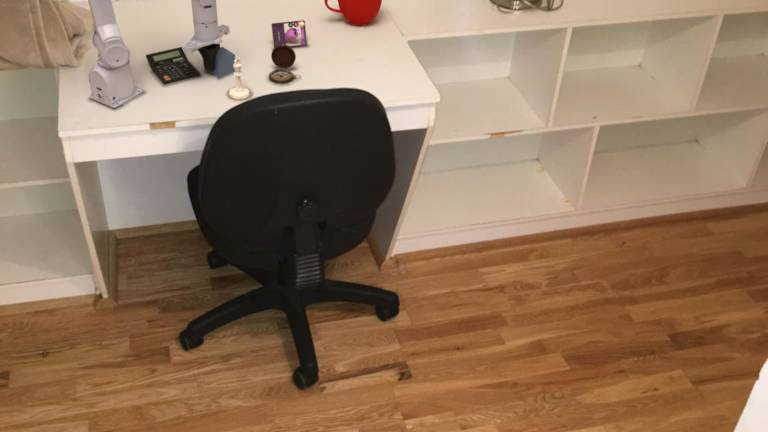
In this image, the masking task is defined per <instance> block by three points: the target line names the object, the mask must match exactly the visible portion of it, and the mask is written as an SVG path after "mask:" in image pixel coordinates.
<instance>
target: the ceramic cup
mask: <svg viewBox="0 0 768 432" xmlns="http://www.w3.org/2000/svg"><path fill="white" fill-rule="evenodd" d="M328 2H329V0H324V5H325V7H326V8H327V9H328V10H329V11H330V12H334V13H337V14H342V16H343V18H344V19H345V20H346V21H347V22H348V23H349V24H351V25H353V26H356V27H357V26H358V27H360V26H367V25H369V24H371V22H372V21H373V20H374V19H375V18H376V17H377V15H378V14H379V12H380V11H381V10H380V9H381V7H382V2H383V0H337V3H338V8H339V9H337V8H333V7H331V6H330V5H329V4H328Z"/></svg>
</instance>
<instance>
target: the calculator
mask: <svg viewBox="0 0 768 432" xmlns="http://www.w3.org/2000/svg"><path fill="white" fill-rule="evenodd" d="M145 58H146V60H147V62H148V65H149V66H150V68H151V71H152V72H153V73H154V75H155V76H156V77H157V78H158V80H159V81H160V82H161V83H162V84H163V85H164V86H166V85H168V84H169V85H170V84H173V83H176V82H181V81H185V80H189V79H193V78H198V77H201V73H200V72H199V71H198V70H197V69H196V67H195V66H193V64H192V63H191V62H190V61H189V59H188V57H187V54H185V53H184V48H183V46H179V47H176V48H175V47H174V48H171V49H166V50H161V51H157V52H152V53H149V54H146V55H145Z"/></svg>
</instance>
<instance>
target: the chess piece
mask: <svg viewBox="0 0 768 432" xmlns="http://www.w3.org/2000/svg"><path fill="white" fill-rule="evenodd" d="M240 61H241V58H240V57H239V56H235V60H234V62H235V63H234V64H233V66H234V68H235V72H233V76H235V86H234V87H232V88H230V89H229V91H228V92H229V96H230V97H231V98H232V99H233V98H234V99H239V100H240V99H245V98H247V97H249V96H250V90H249V89H248V88H247V86H246V87H245V86H243V83H242V78H241V77H242V76H243V72H242V71H241V69H242V68H243V67H242V66H243V64H242V62H240Z"/></svg>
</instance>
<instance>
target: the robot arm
mask: <svg viewBox="0 0 768 432" xmlns="http://www.w3.org/2000/svg"><path fill="white" fill-rule="evenodd" d="M87 2H88V6H89V10H90V15H91V18H92V22H93V23H92V28H93V32H92V38H91V39H92V44H93V46H94V47H95V48H96V50H97V52H98V54H97V56H96V64H95V66H94V67H93V68H92V69H91V70H90V71H89V72H88V81H89V87H90V92H91V95H90V96H89V97H90V99H91V100H93V101H96V102H98V103H100V104H103V105H105V106H108V107H109V108H112V109H117V108H118V107H119V106H121V105H123V104H125V103H127V102H129V101H130V100H132V99H134V98H136V97H137V96H139V95H140V94H142V93H143V92H144V90H143V89H141V88H139V87H137V86H135V84H134V79H133V72H132V66H131V60H130V57H131V51H130V49H129V47H128V46H127V44H125V42H124V40H123V37H122V34H121V31H120V28H119V26H118V23H117V20H116V14H115V12H114V6H113V2H112V0H87ZM190 3H191V13H192V22H193V32H194V35H193V36H191V38H190V39H189V40H188V42H186V44H184V45H183V46H182V48H183V51H184V53H185V55H187V56H192V55H193V54H194V52H196V51H198V53H199V54H200V56H201V57H202V64H203V68H204V70H205V71H207V72H210V73H211V72H212V71H214V70H215V58H216V55H217V53H218V51H219V49H220V47H221V43H222V42H223V39H222V38H223V36H225V35H227V36H228V35H230V32H231V30H230V26H229V25H226V24H221V25H219V22H218V21H219V20H218V19H219V18H218V8H217V7H218V6H217V0H191V2H190Z"/></svg>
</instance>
